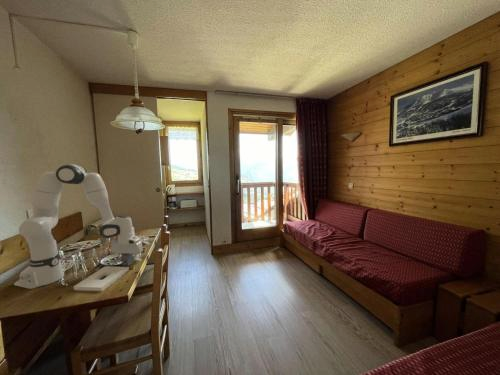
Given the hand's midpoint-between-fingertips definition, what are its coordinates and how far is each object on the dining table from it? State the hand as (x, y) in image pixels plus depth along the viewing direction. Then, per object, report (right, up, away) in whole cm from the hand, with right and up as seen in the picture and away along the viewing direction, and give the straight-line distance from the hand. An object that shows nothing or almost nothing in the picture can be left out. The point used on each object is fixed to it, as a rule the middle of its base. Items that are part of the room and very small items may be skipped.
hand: (127, 259), depth 142 cm
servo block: (0, -3, 0) cm, 3 cm away
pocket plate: (-4, -6, -18) cm, 19 cm away
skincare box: (-15, 0, +29) cm, 32 cm away
